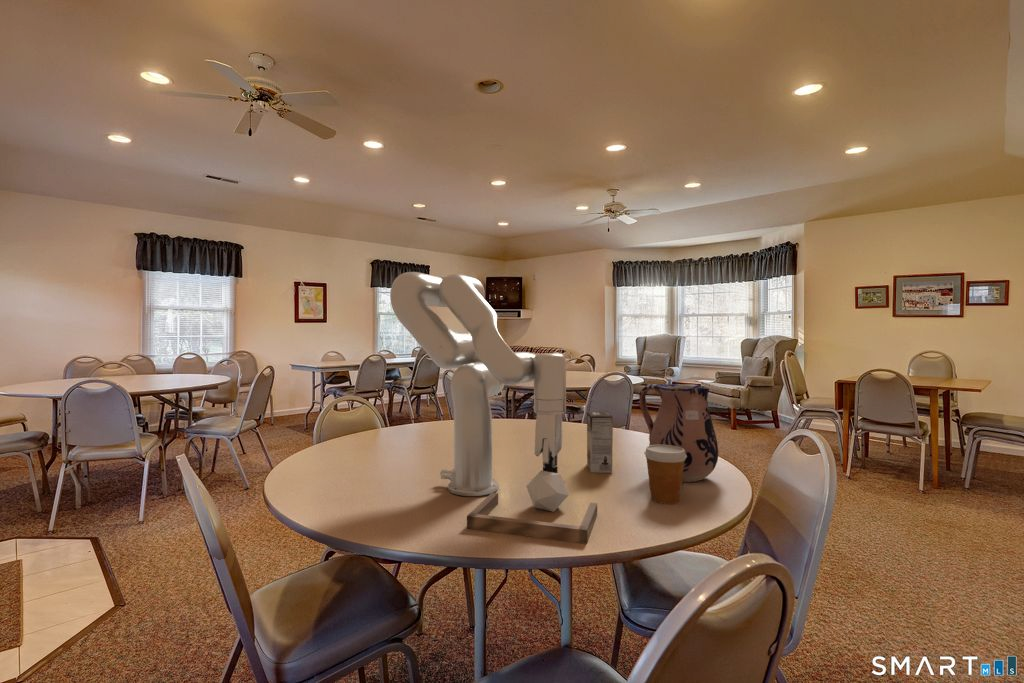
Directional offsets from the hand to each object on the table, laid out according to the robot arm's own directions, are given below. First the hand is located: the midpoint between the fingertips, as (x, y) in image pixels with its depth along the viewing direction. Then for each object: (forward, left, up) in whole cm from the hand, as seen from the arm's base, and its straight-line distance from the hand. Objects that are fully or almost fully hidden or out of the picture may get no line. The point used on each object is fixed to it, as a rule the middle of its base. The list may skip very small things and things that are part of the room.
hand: (550, 483), depth 114 cm
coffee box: (+8, +30, -4) cm, 31 cm away
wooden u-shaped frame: (0, -14, -4) cm, 15 cm away
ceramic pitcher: (+29, +28, -4) cm, 40 cm away
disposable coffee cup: (+26, +8, -4) cm, 27 cm away
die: (+1, -6, -4) cm, 7 cm away
